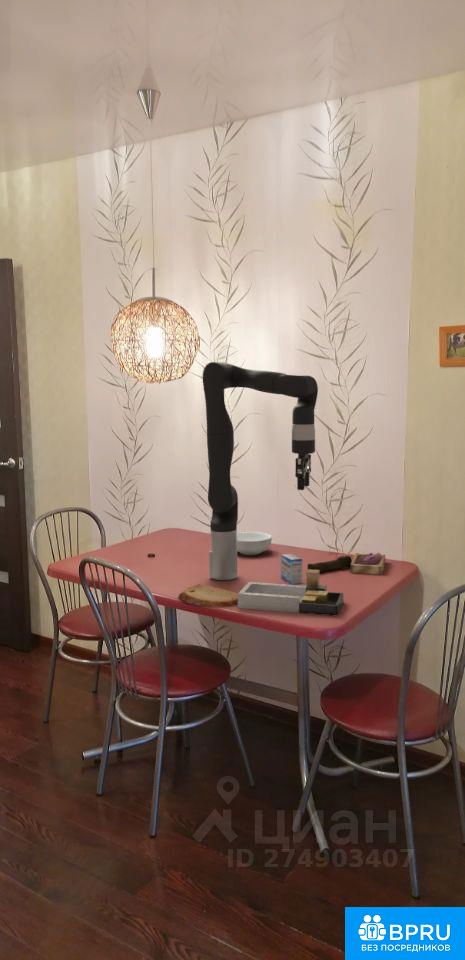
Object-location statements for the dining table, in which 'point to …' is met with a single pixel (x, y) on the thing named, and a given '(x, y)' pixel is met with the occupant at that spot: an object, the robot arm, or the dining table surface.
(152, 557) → the dining table surface
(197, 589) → the slice of bread
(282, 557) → the medicine box
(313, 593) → the khaki small block
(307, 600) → the tan wood block
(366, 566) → the light wood shallow tray
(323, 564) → the hand tool
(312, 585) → the beige and grey block
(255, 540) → the cereal bowl
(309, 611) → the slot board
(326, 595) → the tan square block
